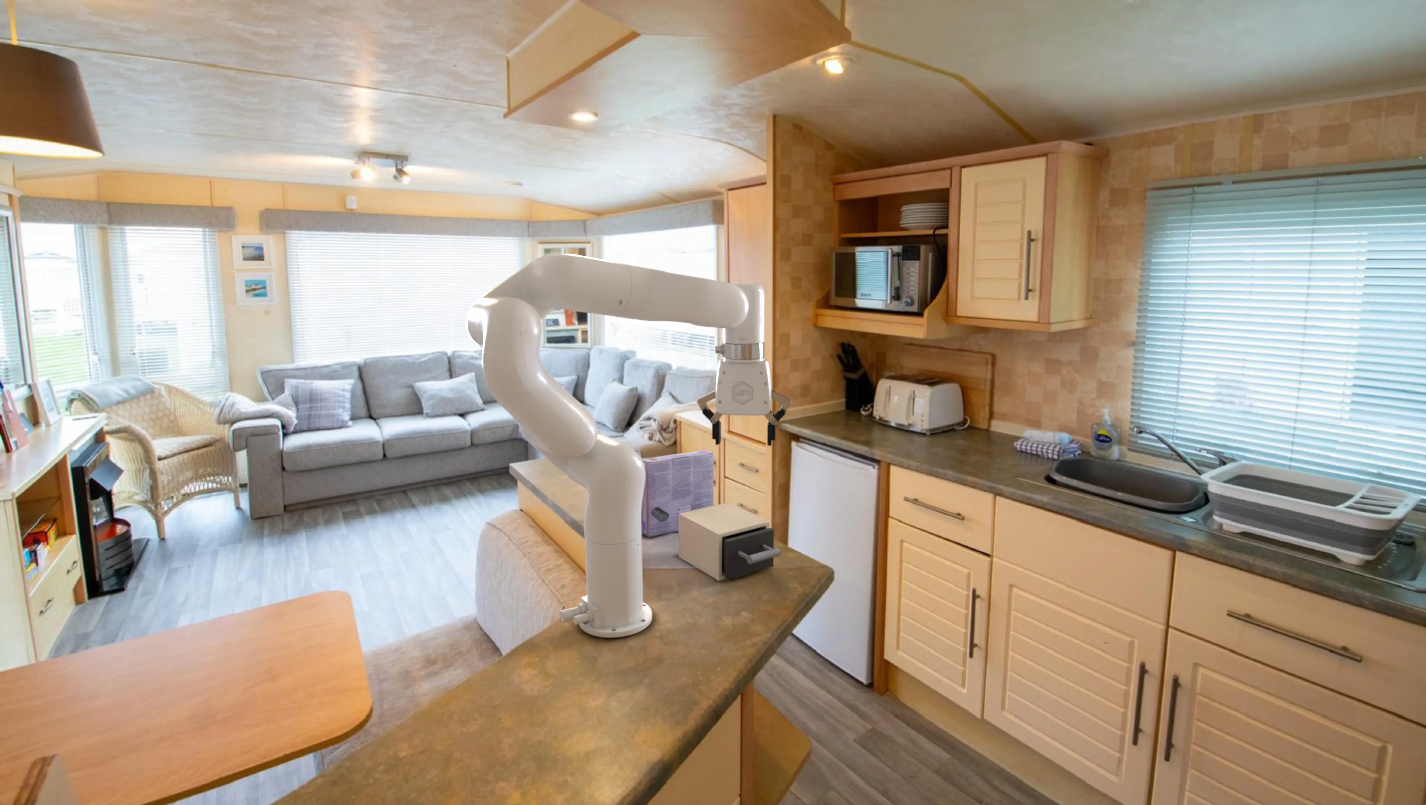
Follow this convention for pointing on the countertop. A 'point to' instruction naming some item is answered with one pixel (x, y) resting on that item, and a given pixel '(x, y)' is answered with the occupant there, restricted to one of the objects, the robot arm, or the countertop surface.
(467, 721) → the countertop surface
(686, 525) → the cream drawer cabinet
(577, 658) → the countertop surface
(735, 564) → the black drawer
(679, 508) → the cake pan box
